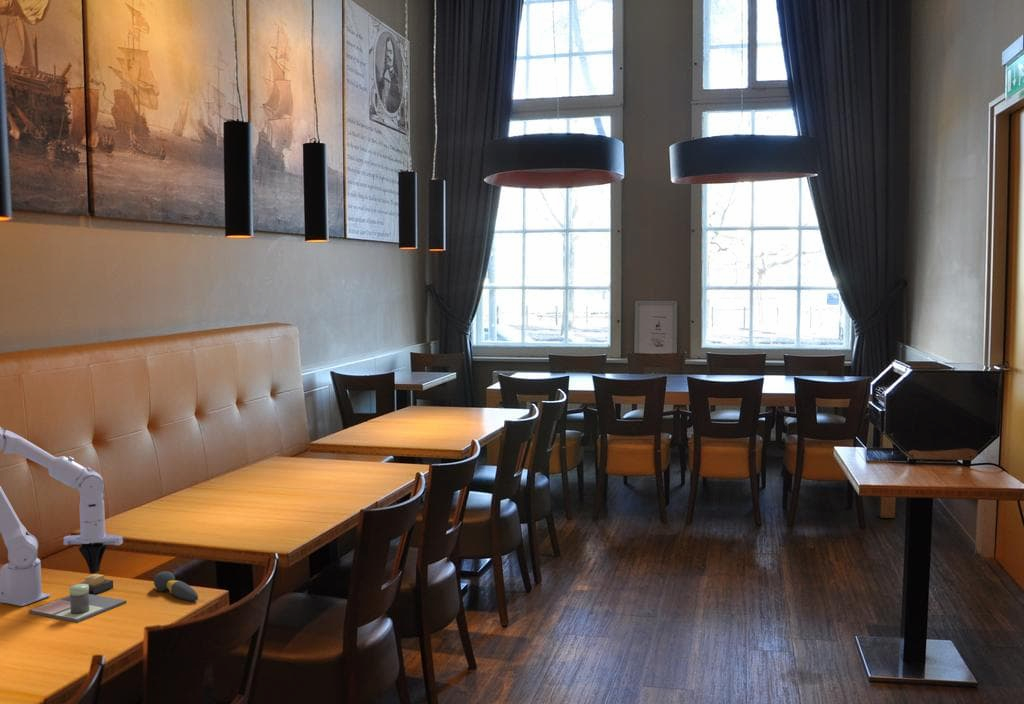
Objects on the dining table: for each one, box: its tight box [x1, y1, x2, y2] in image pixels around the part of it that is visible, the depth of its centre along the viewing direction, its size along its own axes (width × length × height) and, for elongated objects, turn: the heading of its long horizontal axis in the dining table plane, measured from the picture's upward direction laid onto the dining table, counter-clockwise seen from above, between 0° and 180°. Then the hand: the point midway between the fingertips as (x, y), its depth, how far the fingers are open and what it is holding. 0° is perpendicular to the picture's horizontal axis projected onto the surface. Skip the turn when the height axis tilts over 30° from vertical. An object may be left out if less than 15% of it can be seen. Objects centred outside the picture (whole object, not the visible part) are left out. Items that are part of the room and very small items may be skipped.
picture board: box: [28, 594, 127, 623], centre depth 215 cm, size 16×14×1 cm
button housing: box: [78, 578, 114, 595], centre depth 228 cm, size 6×6×2 cm
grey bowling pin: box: [153, 570, 199, 602], centre depth 225 cm, size 20×5×5 cm, turn 55°
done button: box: [84, 573, 105, 586], centre depth 228 cm, size 3×3×2 cm
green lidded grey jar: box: [68, 583, 89, 614], centre depth 210 cm, size 4×4×6 cm
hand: (94, 572), depth 228 cm, fingers closed
